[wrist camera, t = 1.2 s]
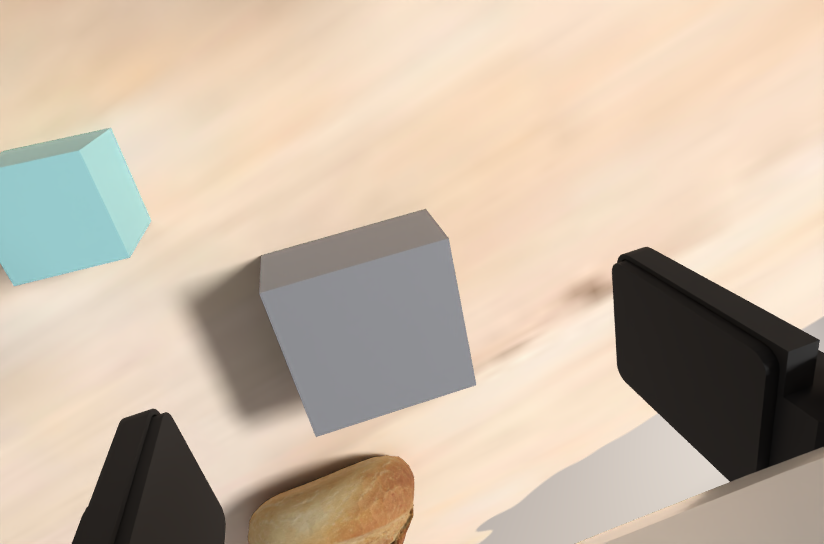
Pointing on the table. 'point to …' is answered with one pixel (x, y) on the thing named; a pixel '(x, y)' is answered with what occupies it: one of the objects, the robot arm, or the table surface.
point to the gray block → (369, 320)
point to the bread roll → (341, 507)
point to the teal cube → (67, 207)
